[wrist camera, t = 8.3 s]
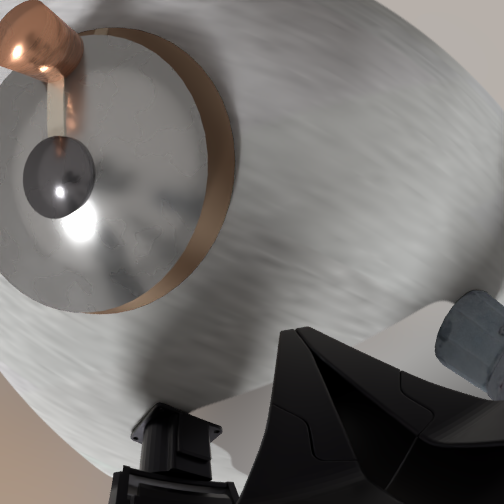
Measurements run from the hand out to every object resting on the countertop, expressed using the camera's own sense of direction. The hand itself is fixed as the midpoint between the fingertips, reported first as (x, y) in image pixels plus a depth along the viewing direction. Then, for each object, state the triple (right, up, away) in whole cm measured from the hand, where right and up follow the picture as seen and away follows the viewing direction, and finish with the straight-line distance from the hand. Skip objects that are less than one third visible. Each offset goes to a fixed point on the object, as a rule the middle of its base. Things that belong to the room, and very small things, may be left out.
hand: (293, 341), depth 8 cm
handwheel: (-11, +7, +6) cm, 14 cm away
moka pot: (+22, -5, +17) cm, 28 cm away
